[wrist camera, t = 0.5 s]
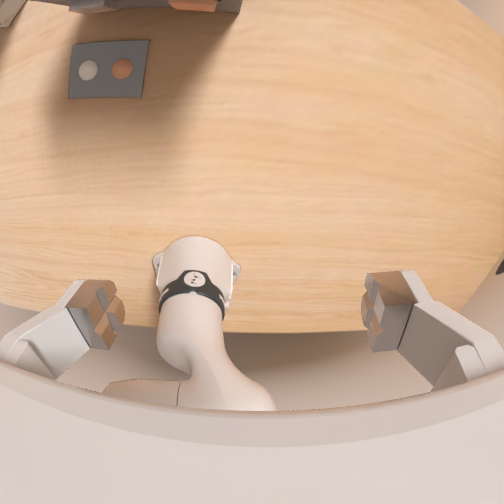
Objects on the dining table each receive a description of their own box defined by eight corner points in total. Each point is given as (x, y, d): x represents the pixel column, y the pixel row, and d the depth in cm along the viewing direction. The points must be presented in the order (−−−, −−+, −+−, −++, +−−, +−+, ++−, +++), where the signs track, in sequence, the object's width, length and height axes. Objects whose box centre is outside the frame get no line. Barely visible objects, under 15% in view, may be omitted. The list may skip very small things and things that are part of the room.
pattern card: (141, 97, 39) (140, 98, 39) (69, 98, 37) (67, 98, 36) (149, 40, 33) (148, 40, 33) (73, 44, 31) (72, 44, 31)
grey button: (117, 10, 24) (103, 5, 20) (85, 14, 23) (68, 11, 19) (122, -9, 22) (108, -16, 18) (89, -5, 21) (73, -10, 17)
